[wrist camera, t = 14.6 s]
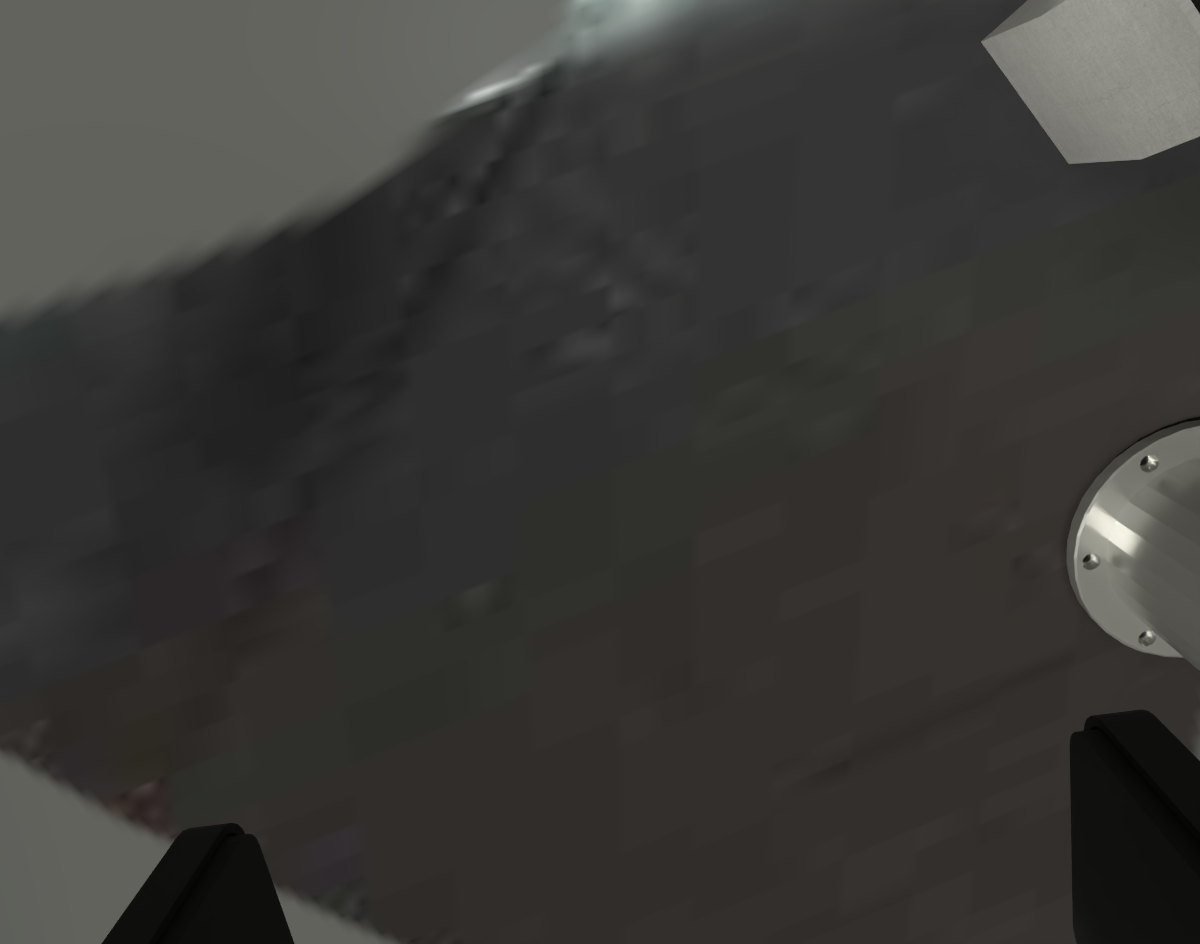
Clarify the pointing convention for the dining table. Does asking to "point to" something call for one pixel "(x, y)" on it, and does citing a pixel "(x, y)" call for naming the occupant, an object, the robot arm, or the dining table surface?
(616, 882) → the dining table surface
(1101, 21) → the white paper bag
